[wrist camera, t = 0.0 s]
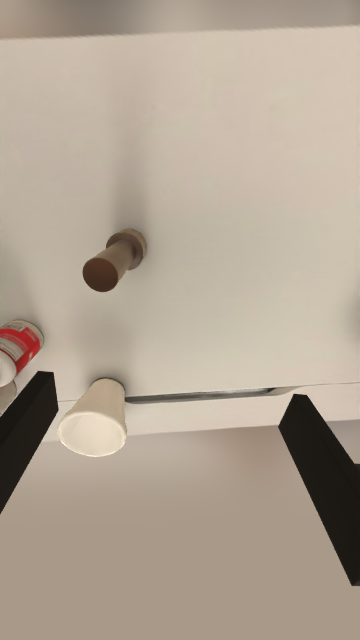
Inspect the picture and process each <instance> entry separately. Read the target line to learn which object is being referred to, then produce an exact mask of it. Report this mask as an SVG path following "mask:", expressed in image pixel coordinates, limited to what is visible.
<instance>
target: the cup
mask: <svg viewBox="0 0 360 640" xmlns="http://www.w3.org/2000/svg"><path fill="white" fill-rule="evenodd" d="M124 395H125V391H124V388H123V386H122V385H121V384H120V383H119V382H117V381H115V380H113V379H108V378H104V379H99V380H97V381H95V382H94V383H93V384H92V385H91V386H90V388H89V389H88V390H87V391H86V392H85V393H84V395H83V396H82V397H81V398H80V399H79V400H78V402H77V403H76V404H75V405H74V406H73V407H72V409H70V410H69V411H68V412H67V413H66V414H65V415H64V417H63V418H62V419H61V421H60V423H59V424H58V436H59V438H60V440H61V442H62V443H63V444H64V445H65V446H66V447H67V448H69V449H70V450H71V451H73V452H76V453H79V454H81V455H85V456H92V457H99V456H107V455H110V454H112V453H114V452H117V451H118V450H119V449H120V448H121V447H122V446H123V445H124V444H125V440H126V435H127V428H126V423H125V400H124Z"/></svg>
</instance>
